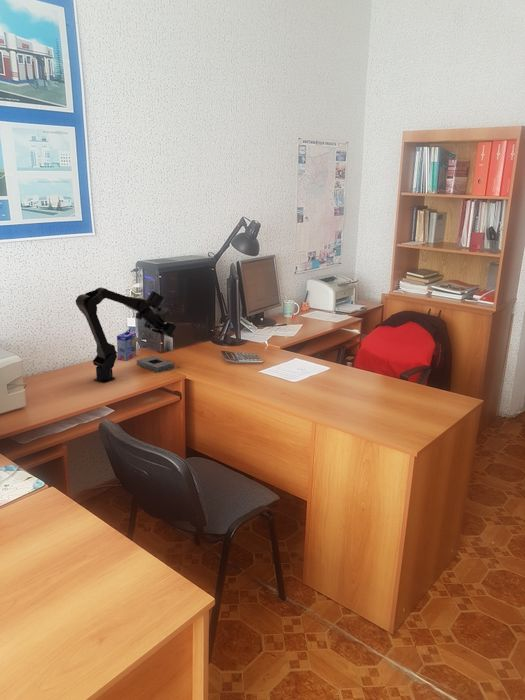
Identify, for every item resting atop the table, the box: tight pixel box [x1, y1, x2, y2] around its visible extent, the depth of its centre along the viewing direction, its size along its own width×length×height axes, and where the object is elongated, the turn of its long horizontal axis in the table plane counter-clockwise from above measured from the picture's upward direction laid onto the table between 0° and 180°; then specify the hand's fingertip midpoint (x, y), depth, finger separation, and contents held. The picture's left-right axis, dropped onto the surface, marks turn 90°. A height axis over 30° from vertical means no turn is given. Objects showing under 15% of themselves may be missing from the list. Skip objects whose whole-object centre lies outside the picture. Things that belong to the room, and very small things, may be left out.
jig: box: [136, 355, 175, 374], centre depth 263 cm, size 10×16×2 cm, turn 46°
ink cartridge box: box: [116, 328, 137, 361], centre depth 275 cm, size 10×6×14 cm, turn 163°
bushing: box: [163, 322, 174, 352], centre depth 265 cm, size 4×4×13 cm
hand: (170, 336), depth 266 cm, fingers closed on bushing, 4 cm apart
